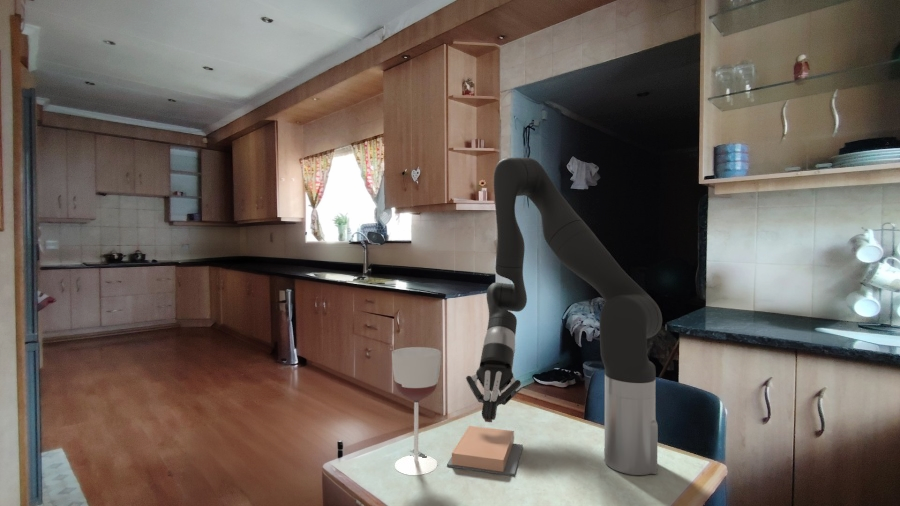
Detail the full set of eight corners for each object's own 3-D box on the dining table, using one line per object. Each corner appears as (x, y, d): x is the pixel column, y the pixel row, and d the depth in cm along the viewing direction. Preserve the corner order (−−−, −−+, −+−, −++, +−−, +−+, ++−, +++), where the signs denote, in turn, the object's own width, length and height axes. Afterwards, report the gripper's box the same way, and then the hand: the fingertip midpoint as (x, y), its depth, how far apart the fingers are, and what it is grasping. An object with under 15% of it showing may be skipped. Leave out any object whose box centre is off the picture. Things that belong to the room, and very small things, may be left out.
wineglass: (439, 476, 82) (440, 357, 82) (388, 475, 82) (388, 356, 82) (441, 454, 91) (441, 347, 91) (394, 453, 91) (395, 346, 91)
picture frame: (514, 431, 96) (503, 460, 82) (513, 441, 96) (503, 472, 82) (469, 425, 99) (451, 453, 85) (469, 436, 99) (451, 465, 85)
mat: (522, 446, 95) (522, 444, 95) (514, 476, 82) (514, 473, 82) (463, 439, 98) (463, 437, 98) (447, 466, 86) (447, 464, 86)
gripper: (468, 339, 105) (454, 409, 93) (525, 343, 101) (517, 415, 89) (473, 357, 110) (461, 424, 98) (527, 360, 106) (520, 431, 94)
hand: (488, 420), depth 94 cm, fingers closed
